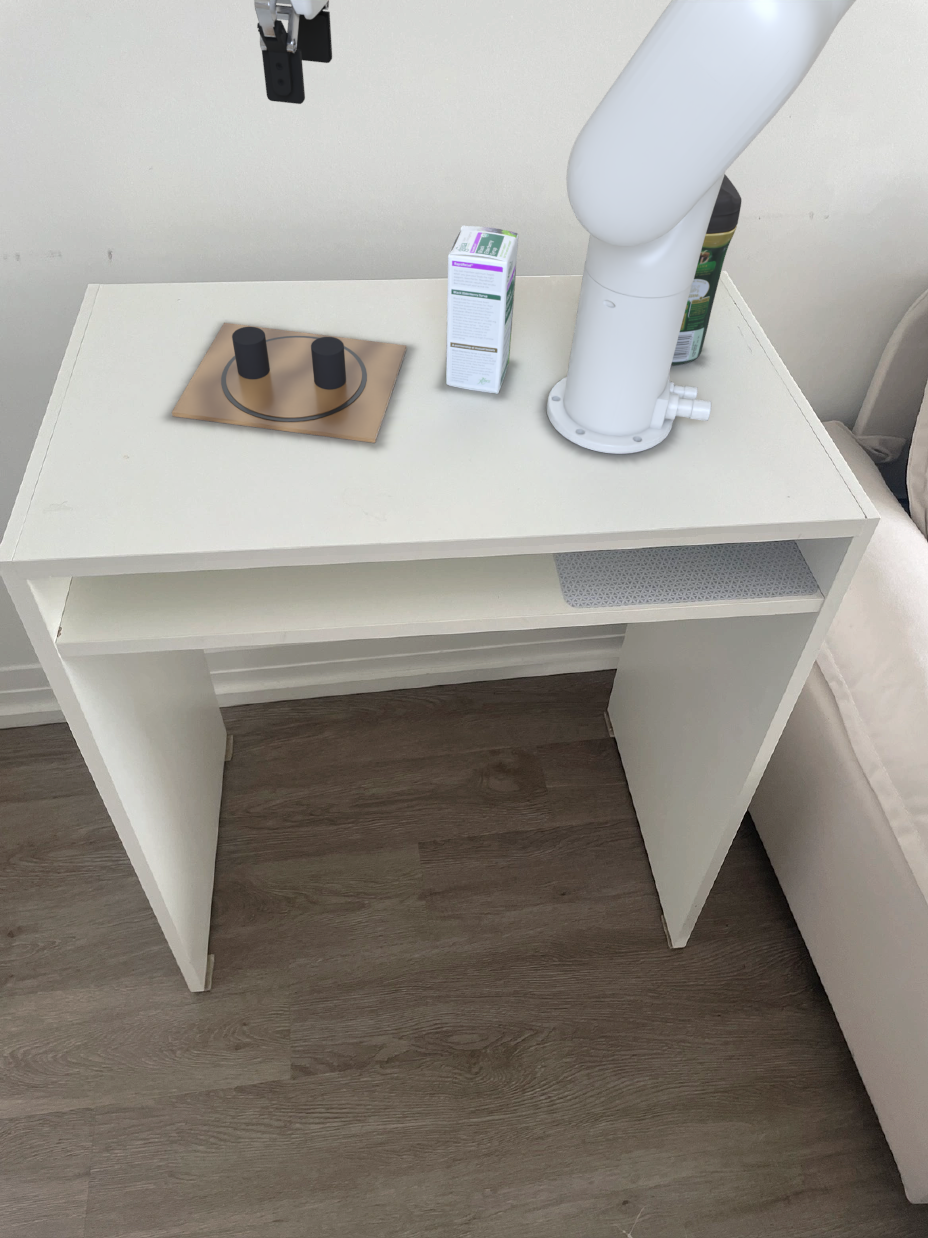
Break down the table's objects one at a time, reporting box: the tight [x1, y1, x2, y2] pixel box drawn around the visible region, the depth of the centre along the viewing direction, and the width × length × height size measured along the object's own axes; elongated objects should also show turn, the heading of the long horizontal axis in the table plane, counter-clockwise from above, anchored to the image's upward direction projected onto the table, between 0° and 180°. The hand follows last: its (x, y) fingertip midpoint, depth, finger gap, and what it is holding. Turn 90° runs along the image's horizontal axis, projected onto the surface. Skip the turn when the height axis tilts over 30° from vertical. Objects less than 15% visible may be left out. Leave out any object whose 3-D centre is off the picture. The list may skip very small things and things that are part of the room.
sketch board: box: [171, 322, 407, 444], centre depth 92 cm, size 20×16×1 cm
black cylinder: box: [232, 326, 270, 379], centre depth 90 cm, size 3×3×4 cm
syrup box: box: [445, 224, 519, 394], centre depth 89 cm, size 6×6×14 cm
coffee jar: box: [671, 174, 742, 366], centre depth 93 cm, size 10×8×19 cm
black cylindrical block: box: [311, 337, 346, 390], centre depth 90 cm, size 3×3×4 cm
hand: (301, 79), depth 81 cm, fingers open, 9 cm apart
